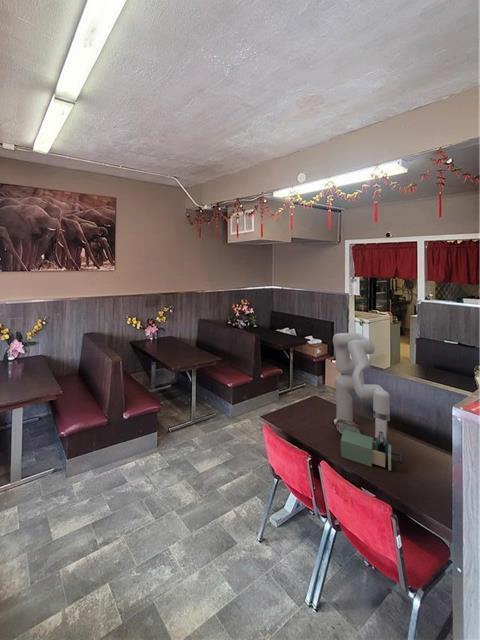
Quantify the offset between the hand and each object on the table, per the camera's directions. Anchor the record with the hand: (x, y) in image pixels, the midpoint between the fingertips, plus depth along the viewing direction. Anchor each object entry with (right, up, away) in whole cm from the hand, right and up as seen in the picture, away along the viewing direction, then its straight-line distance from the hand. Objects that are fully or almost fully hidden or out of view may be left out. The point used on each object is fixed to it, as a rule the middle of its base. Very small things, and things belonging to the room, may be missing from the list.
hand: (381, 449), depth 159 cm
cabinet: (-10, -8, +6) cm, 14 cm away
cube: (0, 0, 0) cm, 0 cm away
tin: (-5, -8, +25) cm, 26 cm away
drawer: (0, -7, 0) cm, 7 cm away
